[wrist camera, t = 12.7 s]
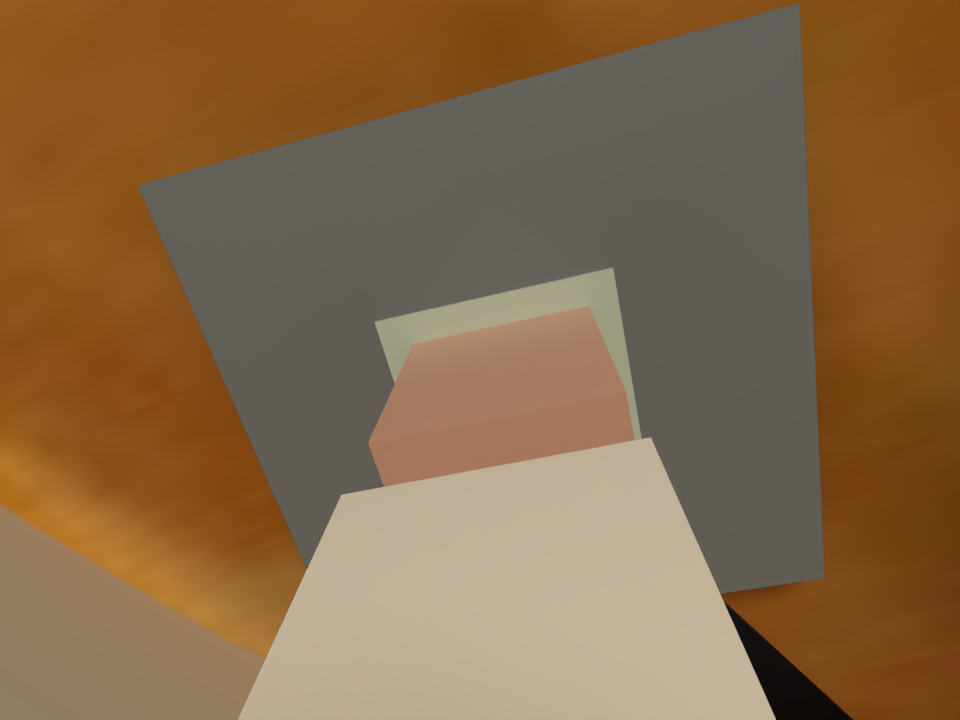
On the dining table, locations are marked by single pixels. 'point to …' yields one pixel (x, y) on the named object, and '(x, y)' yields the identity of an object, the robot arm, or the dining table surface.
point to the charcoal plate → (538, 274)
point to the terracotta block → (501, 399)
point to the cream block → (512, 603)
